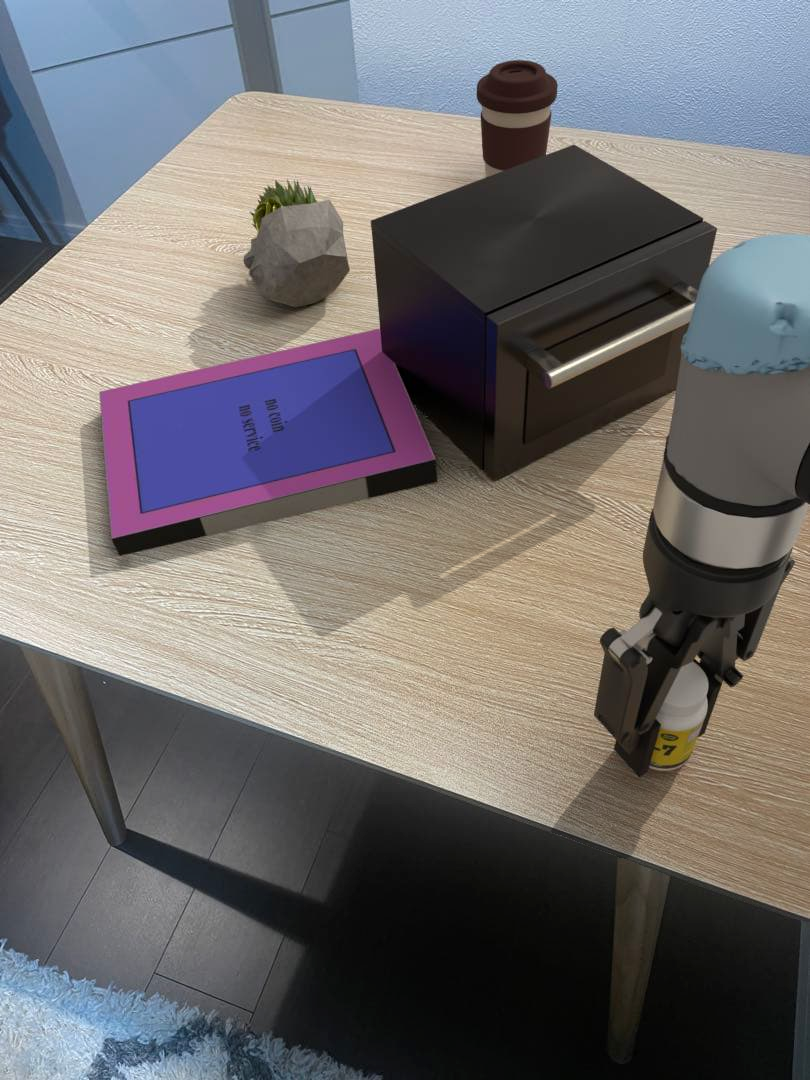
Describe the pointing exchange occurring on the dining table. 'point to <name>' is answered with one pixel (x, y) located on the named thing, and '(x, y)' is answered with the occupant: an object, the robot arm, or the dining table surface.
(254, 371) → the book
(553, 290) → the oven door
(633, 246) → the oven
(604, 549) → the dining table surface
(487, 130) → the coffee cup
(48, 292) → the dining table surface
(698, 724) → the supplement bottle
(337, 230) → the potted plant
